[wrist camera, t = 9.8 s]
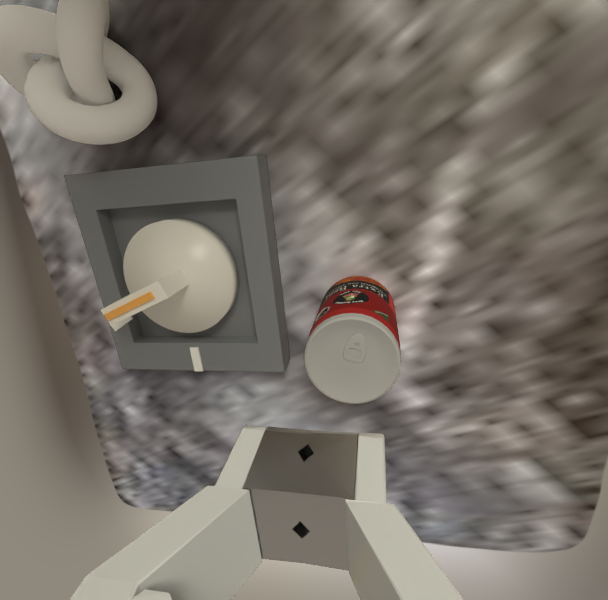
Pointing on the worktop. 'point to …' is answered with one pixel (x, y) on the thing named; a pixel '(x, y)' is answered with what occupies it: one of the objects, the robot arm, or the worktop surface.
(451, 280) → the worktop surface
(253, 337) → the panel
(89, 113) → the white decorative knot
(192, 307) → the dial
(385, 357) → the canned food
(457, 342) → the worktop surface
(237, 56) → the worktop surface
